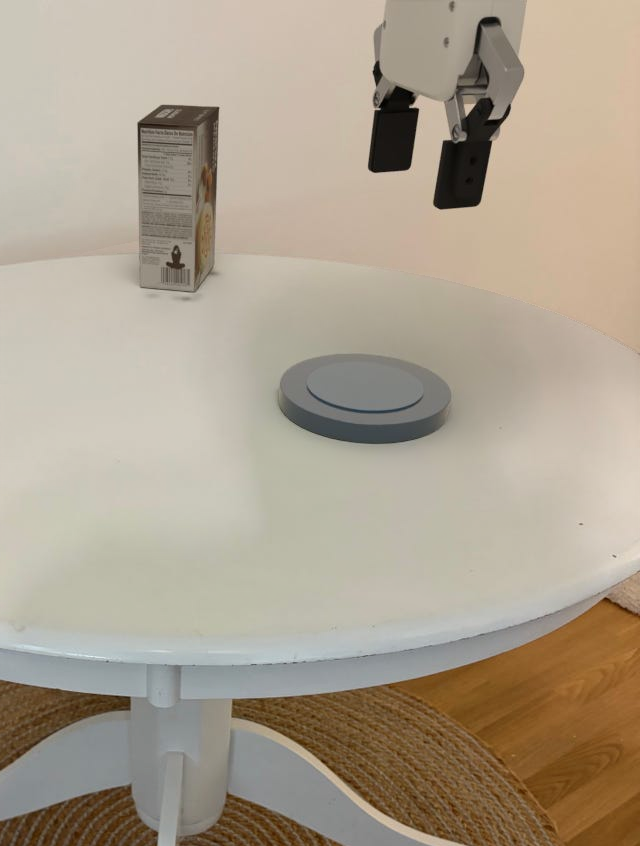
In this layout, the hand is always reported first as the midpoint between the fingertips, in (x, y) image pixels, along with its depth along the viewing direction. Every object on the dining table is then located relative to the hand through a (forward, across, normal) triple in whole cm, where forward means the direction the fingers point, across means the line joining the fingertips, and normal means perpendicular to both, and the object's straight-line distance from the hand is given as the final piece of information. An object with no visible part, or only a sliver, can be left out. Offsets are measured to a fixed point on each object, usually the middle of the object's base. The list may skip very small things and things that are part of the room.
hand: (420, 187), depth 68 cm
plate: (+18, +5, 0) cm, 19 cm away
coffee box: (+18, +40, +6) cm, 44 cm away
